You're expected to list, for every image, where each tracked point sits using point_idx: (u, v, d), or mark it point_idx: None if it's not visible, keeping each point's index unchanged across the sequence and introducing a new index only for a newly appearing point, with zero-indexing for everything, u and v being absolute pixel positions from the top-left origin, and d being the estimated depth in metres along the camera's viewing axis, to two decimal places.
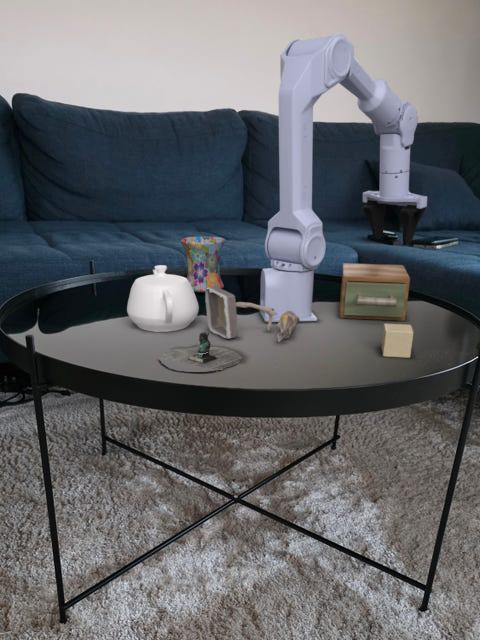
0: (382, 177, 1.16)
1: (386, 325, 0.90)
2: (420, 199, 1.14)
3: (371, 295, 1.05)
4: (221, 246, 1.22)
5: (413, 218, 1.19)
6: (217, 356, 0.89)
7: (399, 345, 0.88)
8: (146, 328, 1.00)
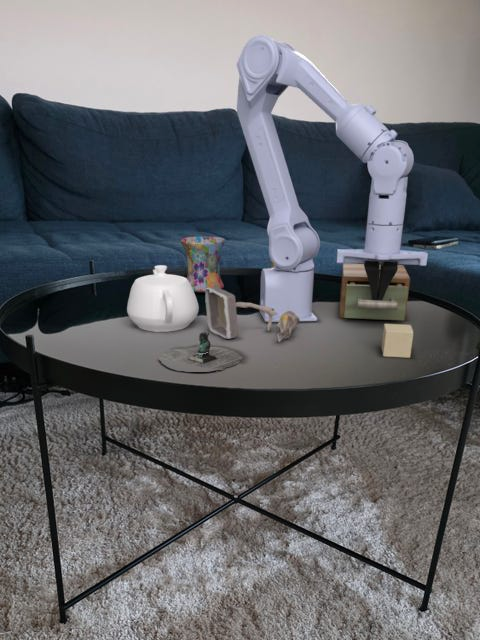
0: None
1: (386, 325, 0.90)
2: None
3: None
4: (221, 246, 1.22)
5: None
6: (217, 356, 0.89)
7: (399, 345, 0.88)
8: (146, 328, 1.00)
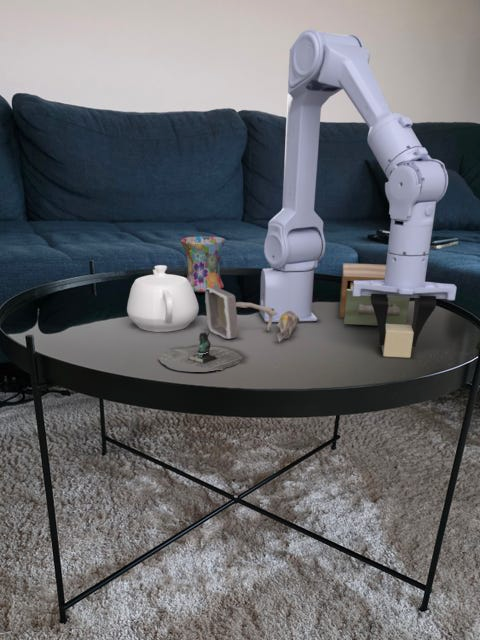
0: None
1: (386, 325, 0.90)
2: None
3: None
4: (221, 246, 1.22)
5: None
6: (217, 356, 0.89)
7: (399, 345, 0.88)
8: (146, 328, 1.00)
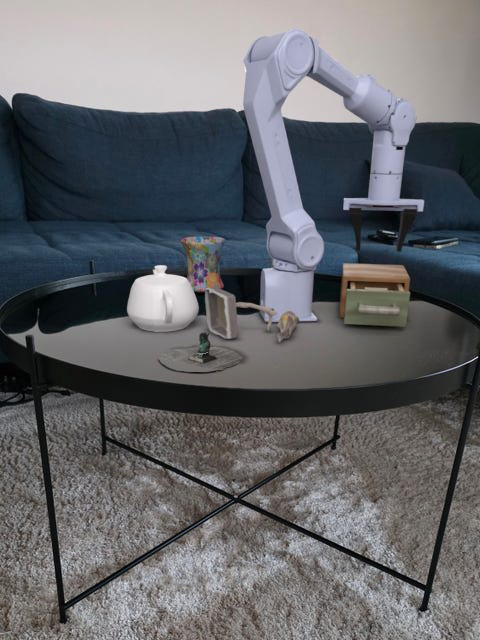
0: (382, 178, 1.06)
1: (366, 288, 1.04)
2: (423, 201, 1.08)
3: (373, 303, 1.00)
4: (221, 246, 1.22)
5: None
6: (217, 356, 0.89)
7: None
8: (146, 328, 1.00)
